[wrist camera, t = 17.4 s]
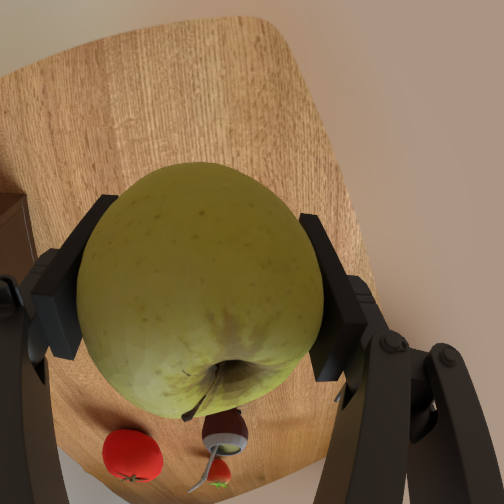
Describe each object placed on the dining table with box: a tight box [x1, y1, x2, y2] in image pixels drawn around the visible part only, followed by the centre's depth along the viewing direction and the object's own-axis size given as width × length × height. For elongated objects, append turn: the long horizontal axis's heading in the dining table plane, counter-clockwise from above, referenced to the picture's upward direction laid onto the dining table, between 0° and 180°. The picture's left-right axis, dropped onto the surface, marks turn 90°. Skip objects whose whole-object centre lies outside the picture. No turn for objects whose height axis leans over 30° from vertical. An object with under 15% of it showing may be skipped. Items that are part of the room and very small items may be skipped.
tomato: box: [102, 429, 163, 483], centre depth 49 cm, size 12×12×11 cm
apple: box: [76, 162, 324, 422], centre depth 10 cm, size 8×8×10 cm
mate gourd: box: [188, 407, 248, 493], centre depth 42 cm, size 8×8×15 cm
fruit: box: [207, 459, 231, 488], centre depth 58 cm, size 5×5×8 cm
